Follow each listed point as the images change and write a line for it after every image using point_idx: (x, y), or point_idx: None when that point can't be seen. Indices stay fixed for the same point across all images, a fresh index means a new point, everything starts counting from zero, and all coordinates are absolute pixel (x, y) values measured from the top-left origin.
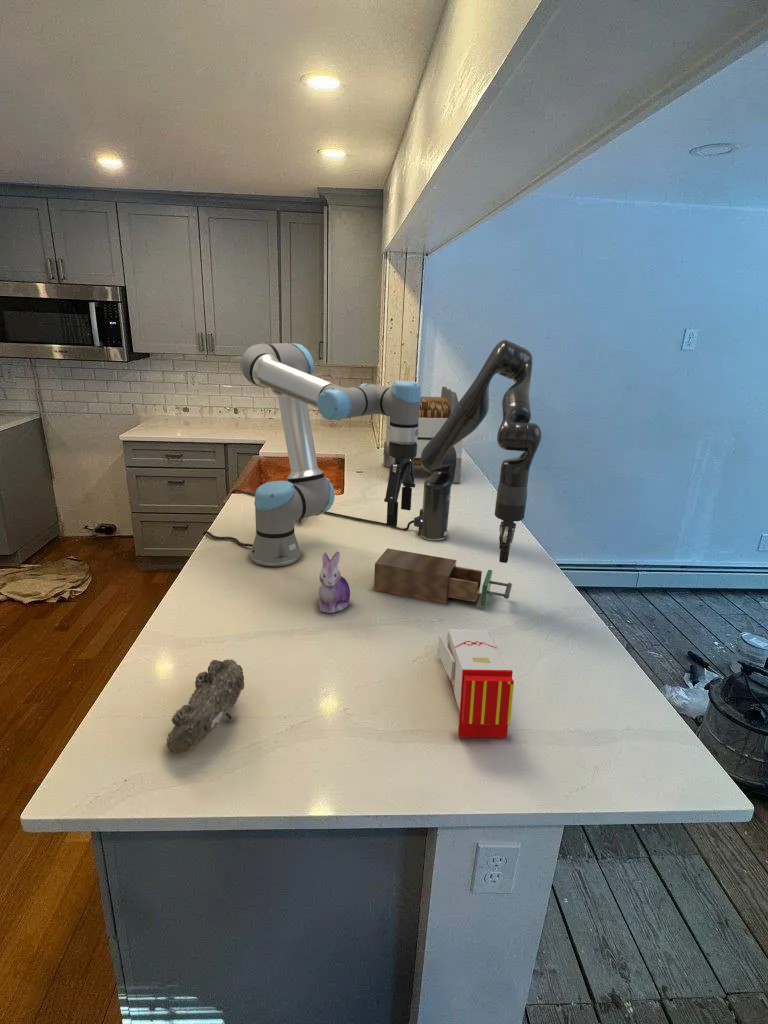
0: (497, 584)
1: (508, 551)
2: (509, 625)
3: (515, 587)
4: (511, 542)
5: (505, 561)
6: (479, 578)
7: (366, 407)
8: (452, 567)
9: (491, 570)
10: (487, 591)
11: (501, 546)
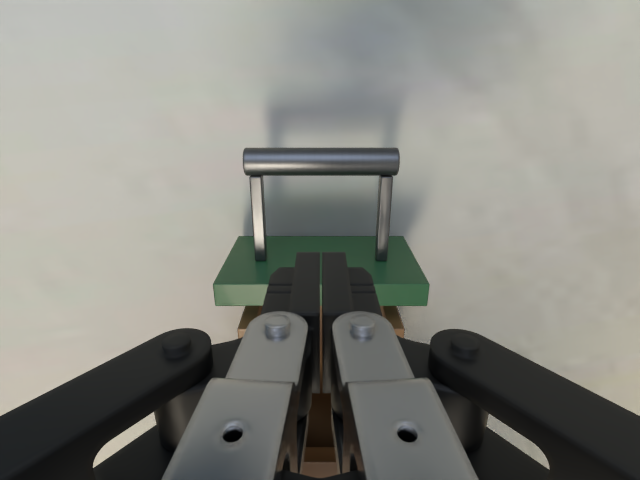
0: (264, 222)
1: (352, 309)
2: (502, 112)
3: (116, 124)
4: (424, 386)
5: (364, 271)
6: (259, 313)
7: None
8: (315, 463)
9: (218, 288)
10: (384, 260)
11: (496, 450)
